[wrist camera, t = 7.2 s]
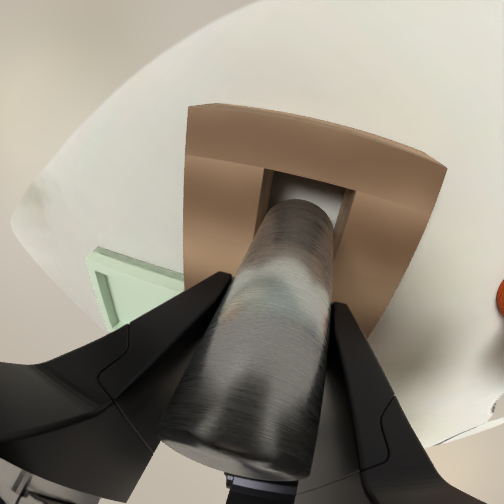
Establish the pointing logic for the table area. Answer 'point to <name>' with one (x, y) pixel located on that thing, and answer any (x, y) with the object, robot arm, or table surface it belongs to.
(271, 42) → the table surface
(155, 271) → the tray
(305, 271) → the grey metal peg
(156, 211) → the table surface
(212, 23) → the table surface
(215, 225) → the socket block
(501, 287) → the toy drill
